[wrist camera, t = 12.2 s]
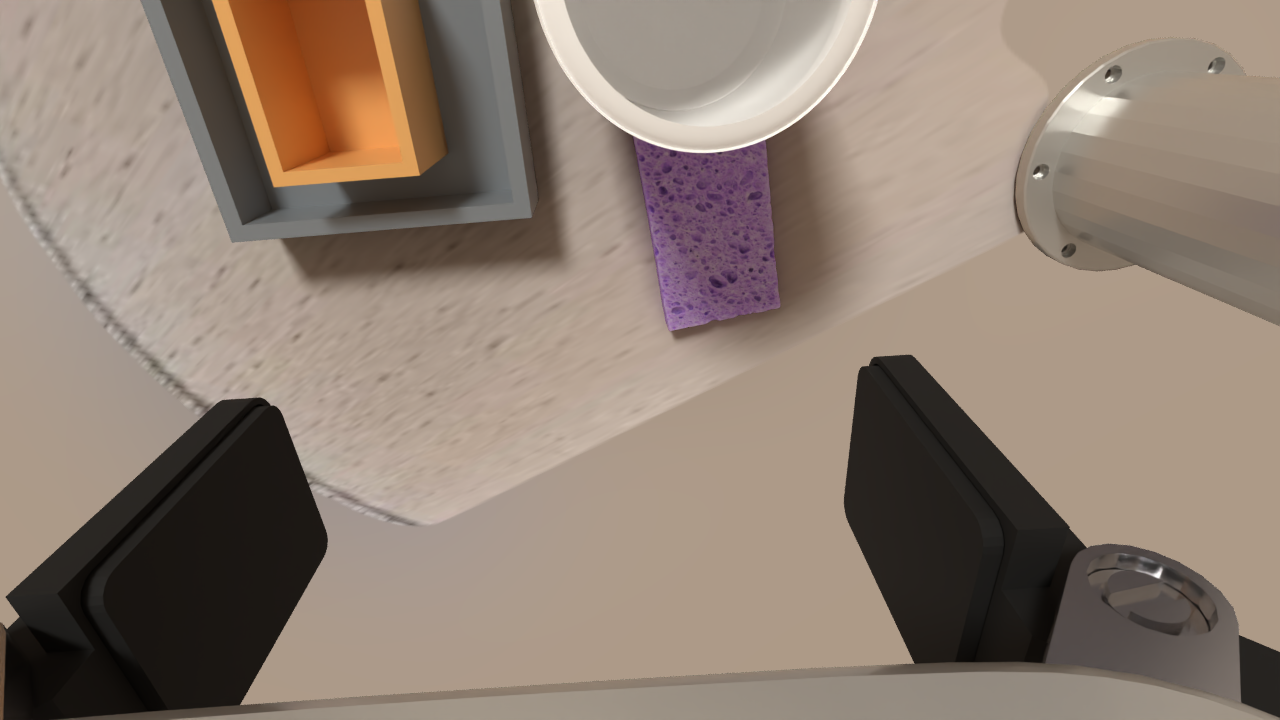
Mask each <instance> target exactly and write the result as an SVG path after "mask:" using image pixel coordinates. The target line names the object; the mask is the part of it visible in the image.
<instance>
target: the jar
mask: <svg viewBox="0 0 1280 720" xmlns="http://www.w3.org/2000/svg"><path fill="white" fill-rule="evenodd" d="M877 2H878V0H534V3H535V7H536V10H537V14H538V17H539V20H540V23H541V26H542V28H543V31H544V34H545V36H546V38H547V41H548V43H549V45H550V47H551V49H552V51H553V53H554V55H555V57H556V59H557V61H558V62H559V64H560V66H561V67H562V69H563V71H564V72H565V74H566V75H567V77H568V78H569V79H570V81H571V82H572V84H573V85H574V86H575V87H576V89H577V90H578V91H579V92H580V93H581V95H582V96H583V97H584V98H585V99H586V100H587V101H588V102H589V103H590V104H591V105H592V106H593V107H594V108H595V109H596V110H597V111H598V112H599V113H600V114H602V115H603V116H604V117H605V118H607V119H608V120H609V121H610V122H612V123H613V124H615V125H616V126H618V127H619V128H621V129H622V130H624V131H626V132H627V133H629V134H631V135H633V136H635V137H637V138H639V139H641V140H643V141H646V142H648V143H651V144H654V145H657V146H660V147H663V148H667V149H671V150H676V151H683V152H692V153H714V152H723V151H730V150H735V149H739V148H743V147H746V146H750V145H753V144H755V143H758V142H761V141H763V140H765V139H768V138H770V137H772V136H774V135H776V134H778V133H779V132H781V131H783V130H785V129H786V128H788V127H789V126H791V125H792V124H794V123H795V122H797V121H798V120H799V119H801V118H802V117H803V116H805V115H806V114H807V113H808V112H809V111H810V110H812V109H813V108H814V107H815V106H816V105H817V104H818V103H819V102H820V101H821V100H822V99H823V98H824V97H825V96H826V95H827V94H828V93H829V91H830V90H831V89H832V88H833V87H834V85H835V84H836V83H837V82H838V80H839V79H840V78H841V76H842V75H843V74H844V72H845V71H846V69H847V68H848V66H849V65H850V63H851V61H852V60H853V58H854V56H855V55H856V53H857V51H858V49H859V47H860V45H861V43H862V41H863V39H864V37H865V35H866V32H867V30H868V28H869V25H870V23H871V20H872V17H873V15H874V12H875V9H876V5H877Z"/></svg>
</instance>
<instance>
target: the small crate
mask: <svg viewBox="0 0 1280 720" xmlns="http://www.w3.org/2000/svg"><path fill="white" fill-rule="evenodd" d="M212 2H213V5H214V8H215V11H216V14H217V17H218V20H219V23H220V26H221V29H222V32H223V35H224V38H225V41H226V44H227V47H228V50H229V53H230V56H231V59H232V62H233V65H234V68H235V71H236V74H237V77H238V80H239V83H240V86H241V89H242V92H243V95H244V99H245V102H246V105H247V108H248V111H249V114H250V117H251V120H252V123H253V126H254V129H255V132H256V135H257V138H258V141H259V144H260V147H261V150H262V153H263V156H264V159H265V162H266V165H267V168H268V171H269V174H270V177H271V180H272V183H273V186H274V187H284V186H296V185H308V184H321V183H333V182H346V181H358V180H370V179H383V178H395V177H408V176H420V175H421V174H422V173H424V172H425V171H426V170H427V169H429V168H430V167H431V166H433V165H434V164H435V163H436V162H438V161H439V160H440V159H442V158H443V157H444V156H445V155H447V154H448V153H449V152H448V147H447V142H446V138H445V133H444V128H443V123H442V118H441V113H440V108H439V103H438V98H437V93H436V88H435V83H434V78H433V73H432V68H431V63H430V58H429V53H428V48H427V43H426V38H425V33H424V28H423V23H422V18H421V13H420V8H419V3H418V0H212Z"/></svg>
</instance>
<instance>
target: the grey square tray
mask: <svg viewBox="0 0 1280 720" xmlns="http://www.w3.org/2000/svg"><path fill="white" fill-rule="evenodd" d="M141 3H142V5H143V8H144V11H145V13H146V16H147V19H148V21H149V24H150V27H151V29H152V32H153V35H154V37H155V40H156V43H157V45H158V48H159V50H160V53H161V56H162V58H163V61H164V64H165V66H166V69H167V72H168V74H169V77H170V80H171V82H172V85H173V88H174V90H175V93H176V96H177V98H178V101H179V103H180V106H181V109H182V111H183V114H184V117H185V119H186V122H187V125H188V127H189V130H190V133H191V135H192V138H193V141H194V143H195V146H196V149H197V151H198V154H199V157H200V159H201V162H202V164H203V167H204V170H205V172H206V175H207V178H208V180H209V183H210V186H211V188H212V191H213V194H214V196H215V199H216V202H217V204H218V207H219V210H220V212H221V215H222V217H223V220H224V223H225V225H226V228H227V231H228V233H229V236H230V239H231V241H232V242H244V241H256V240H268V239H281V238H293V237H305V236H317V235H329V234H341V233H353V232H365V231H377V230H390V229H402V228H414V227H426V226H438V225H450V224H462V223H474V222H486V221H499V220H511V219H523V218H532V216H533V214H534V211H535V208H536V205H537V203H538V200H539V198H538V191H537V184H536V177H535V170H534V163H533V156H532V149H531V142H530V135H529V127H528V120H527V113H526V106H525V99H524V92H523V85H522V78H521V71H520V64H519V57H518V50H517V43H516V36H515V29H514V22H513V15H512V8H511V1H510V0H418V3H419V8H420V13H421V18H422V23H423V28H424V33H425V38H426V43H427V48H428V53H429V58H430V63H431V68H432V73H433V78H434V83H435V88H436V93H437V98H438V103H439V108H440V113H441V118H442V123H443V128H444V133H445V138H446V142H447V147H448V152H449V153H448V154H447V155H445V156H444V157H443V158H442V159H440V160H439V161H438V162H436V163H435V164H434V165H433V166H431V167H430V168H429V169H427V170H426V171H425V172H424V173H422V174H421V175H420V176H408V177H395V178H383V179H370V180H358V181H346V182H333V183H321V184H308V185H296V186H284V187H274V186H273V183H272V180H271V177H270V174H269V171H268V168H267V165H266V162H265V159H264V156H263V153H262V150H261V147H260V144H259V141H258V138H257V135H256V132H255V129H254V126H253V123H252V120H251V117H250V114H249V111H248V108H247V105H246V102H245V99H244V95H243V92H242V89H241V86H240V83H239V80H238V77H237V74H236V71H235V68H234V65H233V62H232V59H231V56H230V53H229V50H228V47H227V44H226V41H225V38H224V35H223V32H222V29H221V26H220V23H219V20H218V17H217V14H216V11H215V8H214V5H213V2H212V0H141Z"/></svg>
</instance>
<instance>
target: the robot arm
mask: <svg viewBox="0 0 1280 720" xmlns="http://www.w3.org/2000/svg"><path fill="white" fill-rule="evenodd" d="M1015 198H1016V205H1017V212H1018V217H1019V219H1020V222H1021V225H1022V227H1023V230H1024V232H1025V233H1026V235H1027V236H1028V238H1029V239H1030V240H1031V242H1032V243H1033V245H1034V246H1035V247H1037V248H1038V249H1039V250H1040V251H1041V252H1043V253H1044V254H1045V255H1046V256H1048V257H1050V258H1052V259H1054V260H1056V261H1058V262H1060V263H1062V264H1064V265H1067V266H1070V267H1073V268H1076V269H1080V270H1091V271H1105V270H1116V269H1120V268H1124V267H1128V266H1132V265H1138V266H1140V267H1143V268H1145V269H1147V270H1150V271H1152V272H1154V273H1157V274H1159V275H1161V276H1164V277H1166V278H1168V279H1171V280H1173V281H1175V282H1178V283H1180V284H1182V285H1185V286H1187V287H1189V288H1192V289H1194V290H1196V291H1199V292H1201V293H1203V294H1206V295H1208V296H1210V297H1213V298H1215V299H1217V300H1220V301H1222V302H1224V303H1227V304H1229V305H1231V306H1234V307H1236V308H1238V309H1241V310H1243V311H1245V312H1248V313H1250V314H1252V315H1255V316H1257V317H1259V318H1262V319H1264V320H1266V321H1269V322H1271V323H1273V324H1276V325H1278V326H1280V78H1276V77H1260V76H1247V75H1246V73H1245V71H1244V69H1243V67H1242V66H1241V65H1240V64H1239V63H1238V62H1237V61H1236V59H1235V58H1234V57H1233V56H1232V55H1231V54H1230V53H1228V52H1227V51H1225V50H1223V49H1222V48H1220V47H1219V46H1217V45H1216V44H1213V43H1210V42H1206V41H1203V40H1199V39H1195V38H1177V37H1169V38H1156V39H1148V40H1144V41H1141V42H1137V43H1133V44H1130V45H1126V46H1124V47H1122V48H1120V49H1118V50H1116V51H1114V52H1112V53H1110V54H1107V55H1105V56H1103V57H1102V58H1100V59H1099V60H1098V61H1096V62H1095V63H1093V64H1092V65H1090V66H1089V67H1087V68H1086V69H1084V70H1083V71H1081V72H1080V73H1079V74H1078V75H1077V76H1076V77H1075V78H1074V79H1072V80H1071V81H1070V82H1069V83H1068V84H1067V85H1066V86H1065V87H1064V88H1063V89H1062V90H1061V91H1060V92H1059V93H1058V94H1057V96H1056V97H1055V98H1054V99H1053V100H1052V102H1051V103H1050V104H1049V105H1048V107H1047V108H1046V109H1045V110H1044V112H1043V114H1042V115H1041V117H1040V118H1039V120H1038V122H1037V123H1036V125H1035V127H1034V128H1033V130H1032V132H1031V134H1030V136H1029V139H1028V141H1027V143H1026V146H1025V148H1024V150H1023V153H1022V156H1021V160H1020V164H1019V168H1018V172H1017V177H1016V192H1015ZM844 508H845V513H846V518H847V520H848V523H849V525H850V527H851V529H852V531H853V533H854V536H855V537H856V540H857V542H858V544H859V546H860V548H861V551H862V553H863V555H864V557H865V559H866V561H867V563H868V565H869V568H870V570H871V572H872V574H873V576H874V578H875V580H876V583H877V584H878V587H879V589H880V591H881V593H882V595H883V597H884V600H885V601H886V604H887V606H888V608H889V610H890V612H891V614H892V617H893V618H894V621H895V623H896V625H897V627H898V629H899V631H900V634H901V636H902V638H903V640H904V642H905V644H906V646H907V648H908V651H909V653H910V655H911V657H912V659H913V661H914V663H915V664H898V665H876V666H854V667H831V668H810V669H792V670H776V671H759V672H745V673H744V672H742V673H726V674H708V675H693V676H676V677H659V678H642V679H625V680H609V681H592V682H579V683H562V684H546V685H532V686H531V685H530V686H516V687H501V688H500V687H499V688H485V689H469V690H454V691H440V692H424V693H410V694H393V695H378V696H364V697H349V698H335V699H321V700H309V701H293V702H279V703H265V704H253V705H252V704H251V705H240V704H241V702H242V700H243V699H244V696H245V695H246V693H247V692H248V690H249V688H250V686H251V684H252V683H253V681H254V679H255V678H256V676H257V674H258V672H259V670H260V669H261V667H262V665H263V663H264V662H265V660H266V658H267V656H268V655H269V653H270V651H271V649H272V648H273V646H274V644H275V642H276V640H277V639H278V637H279V635H280V633H281V632H282V630H283V628H284V626H285V625H286V623H287V621H288V619H289V618H290V616H291V614H292V612H293V610H294V609H295V607H296V605H297V603H298V601H299V600H300V598H301V596H302V595H303V593H304V591H305V589H306V588H307V586H308V584H309V582H310V580H311V579H312V577H313V575H314V573H315V572H316V570H317V568H318V566H319V565H320V563H321V561H322V559H323V557H324V555H325V553H326V550H327V542H328V538H327V533H326V529H325V527H324V524H323V521H322V519H321V516H320V513H319V511H318V508H317V506H316V503H315V500H314V498H313V495H312V492H311V490H310V487H309V484H308V482H307V479H306V476H305V474H304V471H303V468H302V466H301V463H300V460H299V458H298V455H297V452H296V450H295V447H294V444H293V442H292V439H291V437H290V434H289V431H288V429H287V426H286V423H285V421H284V418H283V415H282V413H281V411H280V410H279V409H278V408H277V407H276V406H270V404H269V403H268V402H267V401H266V400H265V399H263V398H246V399H231V400H222V401H220V402H218V403H217V404H216V405H215V406H214V407H212V408H211V409H210V410H209V411H208V412H207V413H206V414H205V415H204V416H203V417H202V418H200V419H199V420H198V421H197V422H196V423H195V424H194V425H193V426H192V427H191V428H190V429H188V430H187V431H186V432H185V433H184V434H183V435H182V436H181V437H180V438H179V439H177V440H176V442H174V443H173V444H172V445H171V446H170V447H169V448H168V449H167V450H165V451H164V452H163V453H162V454H161V455H160V456H159V457H158V458H157V459H156V460H155V461H153V463H151V464H150V465H149V466H148V467H147V468H146V469H145V470H144V471H143V472H142V473H140V475H138V476H137V477H136V478H135V479H134V480H133V481H132V482H130V483H129V484H128V485H127V486H126V487H125V488H124V489H123V490H122V491H121V492H120V493H119V494H117V495H116V496H115V497H114V498H113V499H112V500H111V501H110V502H109V503H108V504H107V505H105V506H104V507H103V508H102V509H101V510H100V511H99V512H98V513H97V514H96V515H94V516H93V517H92V518H91V519H90V520H89V521H88V522H87V523H86V524H85V525H84V526H82V527H81V528H80V529H79V530H78V531H77V532H76V533H75V534H74V535H73V536H71V538H69V539H68V540H67V541H66V542H65V543H64V544H63V545H62V546H61V547H59V548H58V549H57V550H56V551H55V552H54V553H53V554H52V555H51V556H50V557H49V558H47V559H46V560H45V561H44V562H43V563H42V564H41V565H40V566H39V567H38V568H37V569H35V570H34V571H33V572H32V573H31V574H30V575H29V576H28V577H27V578H26V579H25V580H24V581H22V582H21V583H20V584H19V585H18V586H17V587H16V588H15V589H14V590H13V591H11V592H10V593H9V594H8V595H7V596H6V598H7V600H8V601H9V602H10V604H11V605H12V606H13V608H14V609H15V611H16V612H17V613H18V615H19V616H20V617H19V618H18V619H17V620H16V621H15V622H14V623H13V624H12V625H11V626H10V627H9V628H8V629H6V628H5V626H4V625H3V624H2V623H0V720H1280V652H1278V651H1276V650H1273V649H1271V648H1269V647H1266V646H1264V645H1262V644H1259V643H1257V642H1254V641H1252V640H1250V639H1247V638H1245V637H1242V636H1240V635H1239V628H1238V622H1237V618H1236V615H1235V611H1234V608H1233V607H1232V606H1231V604H1230V603H1229V602H1228V600H1227V599H1226V598H1225V597H1224V595H1223V594H1222V593H1221V591H1219V590H1218V589H1217V588H1216V587H1214V585H1212V584H1211V583H1210V582H1209V581H1207V580H1206V579H1205V578H1204V577H1203V576H1202V575H1200V574H1198V573H1197V572H1195V571H1193V570H1192V569H1190V568H1188V567H1187V566H1185V565H1183V564H1181V563H1180V562H1178V561H1175V560H1173V559H1171V558H1168V557H1166V556H1163V555H1161V554H1159V553H1156V552H1153V551H1149V550H1145V549H1141V548H1137V547H1134V546H1128V545H1118V544H1102V545H1095V546H1090V547H1088V548H1086V546H1085V545H1084V544H1083V543H1082V542H1081V541H1080V540H1079V539H1078V538H1077V537H1076V535H1075V534H1074V533H1073V532H1072V531H1071V530H1070V529H1069V528H1070V527H1069V526H1068V525H1067V523H1065V521H1064V520H1063V519H1062V518H1061V517H1060V516H1059V515H1058V514H1057V513H1056V511H1055V510H1054V509H1053V508H1052V507H1051V506H1050V505H1049V504H1048V503H1047V502H1046V501H1045V499H1044V498H1043V497H1042V496H1041V495H1040V494H1039V493H1038V492H1037V491H1036V490H1035V488H1034V487H1033V486H1032V485H1031V484H1030V483H1029V482H1028V481H1027V480H1026V479H1025V478H1024V476H1023V475H1022V474H1021V473H1020V472H1019V471H1018V470H1017V469H1016V468H1015V467H1014V466H1013V465H1012V463H1011V462H1010V461H1009V460H1008V459H1007V458H1006V457H1005V456H1004V455H1003V454H1002V452H1001V451H1000V450H999V449H998V448H997V447H996V446H995V445H994V444H993V443H992V441H991V440H990V439H988V437H987V436H986V435H985V434H984V433H983V432H982V431H981V430H980V428H979V427H978V426H977V425H976V424H975V423H974V422H973V421H972V420H971V419H970V418H969V416H968V415H967V414H966V413H965V412H964V411H963V410H962V409H961V408H960V407H959V406H958V404H957V403H956V402H955V401H954V400H953V399H952V398H951V397H950V396H949V395H948V393H947V392H946V391H945V390H944V389H943V388H942V387H941V386H940V385H939V384H938V383H937V382H936V380H935V379H934V378H933V377H932V376H931V375H930V374H929V373H928V372H927V371H926V369H925V368H924V367H923V366H922V365H921V364H920V363H919V362H918V361H917V360H916V358H915V357H913V356H912V355H899V356H898V355H897V356H883V357H874V358H873V359H872V360H871V362H870V364H869V366H864V367H861V368H860V370H859V373H858V380H857V389H856V397H855V406H854V416H853V424H852V433H851V442H850V450H849V459H848V468H847V478H846V486H845V494H844Z"/></svg>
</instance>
